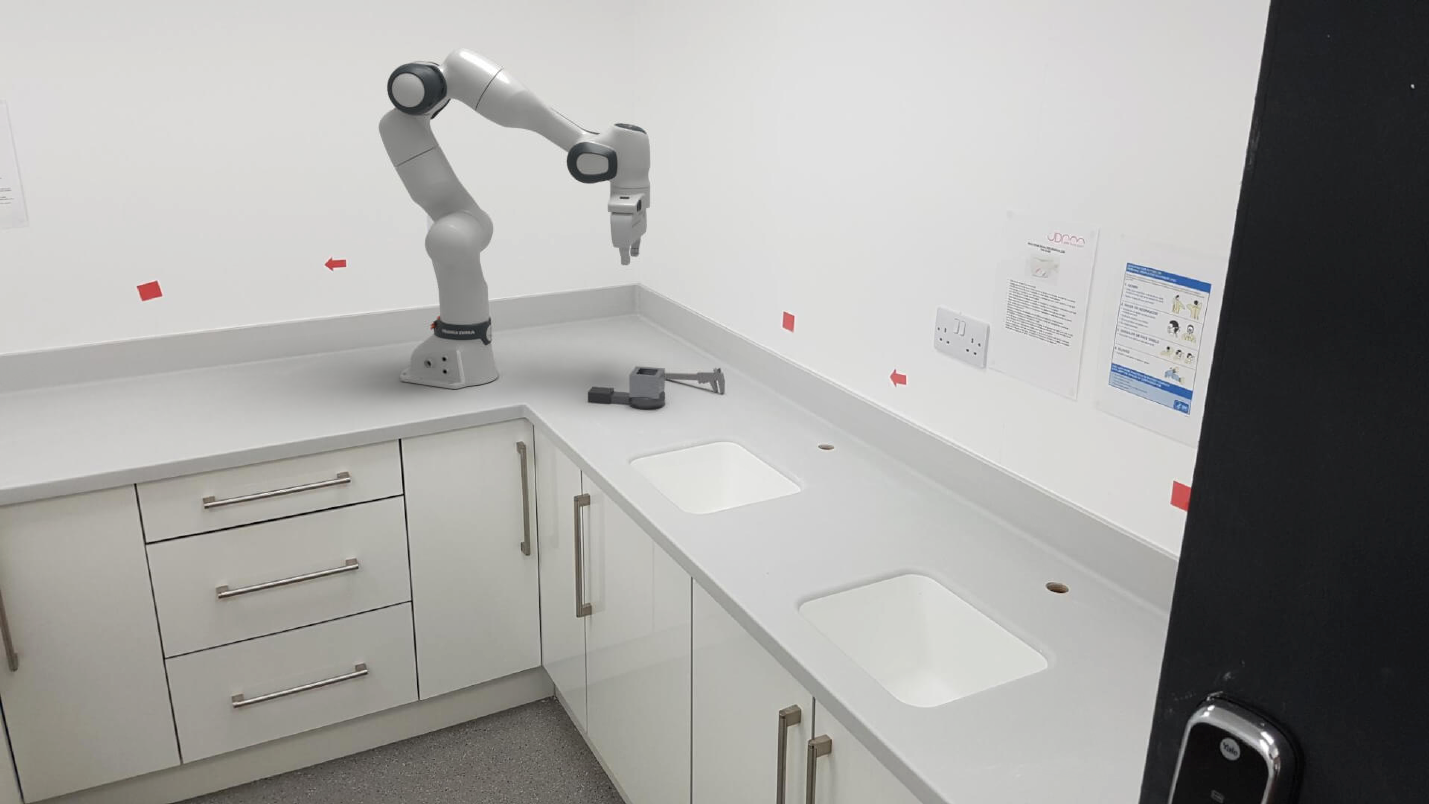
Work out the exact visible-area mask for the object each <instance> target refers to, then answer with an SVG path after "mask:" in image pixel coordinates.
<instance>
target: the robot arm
mask: <svg viewBox="0 0 1429 804" xmlns="http://www.w3.org/2000/svg"><path fill="white" fill-rule="evenodd" d="M386 85H387V86H386V92H387V95H388V99H389V101H390V102H391V104H392V106H394V108H393V109H391V110H389V111H388V112H386V113H385V114H384V115H383V116H382V117H381V119H380V121H379V123H378V133H379V134H380V138H381V140H382V144H383V147H384V148H385V151H386V155H388V158H389V160H390V163H392V166H393V167H394V169H395V171H396V173H397V175H398V177H399V178H400V180H401V182H402V184H403V186H404V188H405V189H406V191H407V193H408V194H409V197H410V199H411V200H412V201H413V202H414V203H415V204H417V205H418V206H419V207H420V208H422V209H423V210H424V212H425V213H426V214H427V215H428V217H429V218H430V219H431V220H432V221H433V223H432V225H431V226H430V228H429V229H428V231H427V233H426V236H425V238H424V248H425V251H426V254H427V256H428V257H429V258H430V260H431V263H432V267H433V271H434V274H435V278H436V282H437V290H438V298H439V299H438V300H439V301H438V302H439V316H437V318H436V319H435V320H434V321H432V323H431V324H430V330H433V334H431V335H430V336H429V337H428V338H426V339H425V340H424V341H423V342H422V343H420V344H419V345H418V346H417V347H415V348H414V349H413V351H412V353H411V355H410V359H409V366H407V367H406V368H404V369H403V370H402V371H401V372H400V378H399V379H400V381H401V382H406V383H410V384H411V383H412V384H419V385H423V386H424V385H425V386H431V387H438V388H444V389H452V390H457V389H461V388H465V387H470V386H477V385H478V386H479V385H483V384H487V383H490V382H493V381H495V380H497V379H498V378H499V376H500V375H499V374H500V373H499V371H498V368H497V365H496V361H495V358H494V353H493V347H492V341H493V326H492V318H491V317H490V310H489V309H490V307H489V306H490V305H489V287H488V286H489V285H488V283H487V282H486V280H485V277H484V273H483V269H482V265H481V253H482V252H483V251H484V250H485V249H486V248H487V247H488V246H489V244H490V243H491V240H492V238H493V234H494V223H493V221H492V218H491V217H490V215H489V214H488V213H487V212H486V211H485V210H483V209H482V208H481V207H480V206H479V205H478V203H477V202H476V200H475V199H474V197H473V196H472V195H471V194H470V193H469V192H468V190H467V189H466V188H465V187H464V185H463V184H462V182H461V181H460V180H459V178H458V177H457V175H456V173H455V171H454V169H453V167H452V165H451V164H450V162H449V161H448V159H447V156H446V154H445V153H444V151H443V149H442V147H441V146H440V144H439V142H438V140H437V138H436V136H435V135H434V131H433V130H432V127H431V120H433V119H435V118H436V117H437V116H438V114H440V113H441V112H442V110H444V109H445V107H447V106H448V104H449V103H450V101H451V100H452V99H453V100H457V101H459V102H461V103H463V104H464V105H466V106H467V107H469V108H470V109H472V110H473V111H475V113H477V114H479V115H480V116H482V117H483V118H485V119H487V120H489V121H490V122H492V123H495V124H496V125H498V126H500V127H504V128H511V129H523V130H527V131H532V132H535V133H537V134H538V135H540V136H542V137H543V138H545V139H546V140H548V141H550V142H551V143H553V144H554V145H556V146H557V147H559V148H560V149H562V150H563V151H565V152H566V153H567V155H566V166H567V170H568V172H569V174H570V176H571V177H573V178H574V179H575V180H576V181H578V182H579V183H583V184H586V185H587V184H588V185H591V184H593V185H594V184H597V183H602V182H606V181H607V182H609V184H610V185H609V186H610V187H609V188H610V192H609V200H608V202H607V211H608V213H610V217H609V218H610V219H609V220H610V236H611V243H612V246H613V247H614V248H616V249H618V252H619V255H620V264H621V265H622V266H629V265H630V263H631V257H635V258H637V257H638V256H639V255H640V246H641V242H642V241H641V240H642V236H643V235H645V234H646V232H647V225H648V224H647V223H648V220H647V218H648V217H647V209H649V208H650V207H651V183H650V178H649V172H650V168H651V147H650V140H649V135H648V134H647V132H646V130H645V129H644V128H642V127H640V126H637V125H635V124H629V123H620V122H619V123H617V122H616V123H614V124H613V125H612V126H610V127H609V128H608V129H606V130H603V132H595V131H590V130H587V129H584V128H583V127H580V126H579V125H577V124H575V122H574V121H571V120H570V119H568V118H567V117H565V116H564V115H562V114H561V113H559V112H558V111H556V110H555V109H553V108H552V107H550V106H549V105H548V104H547V103H545V102H544V101H543V100H541V98H539V97H538V96H537V95H536V94H535V93H534V92H533V91H531V90H530V88H528V87H527V86H526V85H525V84H524V83H523V82H522V81H520V79H518V78H517V77H515V76H514V75H513V74H511V73H510V72H509V71H507V70H506V69H505V68H503V67H502V66H500V65H499V64H498V63H496V62H494V61H492V60H491V59H490V58H488V57H486V56H484V55H482V54H481V53H478V52H476V51H473V50H471V49H469V48H466V47H460V48H457V49H454V50H453V51H452V52H450V53H449V54H448V55H447V56H446V58H445V59H444V61H443V62H442V63H441V64H439V63H436V62H433V61H425V60H424V61H423V60H417V61H412V62H409V63H405V64H404V63H403V64H400V66H399V65H398V67H396V68H395V69H394V70H393V71H392V72H391V74H390V76H389V77H388V80H387V84H386Z"/></svg>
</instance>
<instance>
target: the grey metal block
mask: <svg viewBox="0 0 1429 804" xmlns="http://www.w3.org/2000/svg"><path fill="white" fill-rule="evenodd" d="M665 372H666V369H665V368H664V367H654V366H653V367H651V366H650V367H649V366H638V365H636V366H635V367H634V368H633V370H632V371H631V373H630V374H629V376H628V377H629V381H628V382H629V383H628V384H629V385H628V386H629V387H628V389H629V397H638V398H651V399H659V398H660V396H661V395H662V393H663V391H664V392H665V390H666V389H665V387H666V385H665V384H666V383H665V382H666V381H665V380H666V379H665Z"/></svg>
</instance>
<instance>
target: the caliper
mask: <svg viewBox="0 0 1429 804" xmlns="http://www.w3.org/2000/svg"><path fill="white" fill-rule="evenodd" d="M721 369H722V368H721V367H718V368H717V367H714V368H713V371H698V372H695V373H694V372H692V373H691V372H666V371H665V380H673V381H675V380H677V381H679V380H680V381H681V380H682V381H697V382H698V385H701V384H703V385H704V384H707V383H709V384H710V387H711V388H712V392H713V393H714V394H716V393H719V394H720V395H722V394H724V393H725V390H726V380H725V374H724V372H722V370H721Z"/></svg>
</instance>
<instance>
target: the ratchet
mask: <svg viewBox="0 0 1429 804" xmlns="http://www.w3.org/2000/svg"><path fill="white" fill-rule="evenodd" d="M587 403H593V404H602V405H603V404H604V405H611V404H612V405H613V404H617V405H627V406H628V405H629V407H630V408H633V409H636V410H642V411H644V410H645V411H647V410H648V411H653V410H658V409H661V408H664V406H665V405H666V392H665V390H664V391H663V393H662V395H661V396H660V398H659V399H651V398H638V397H629V392H624V391H615V387H605V386H603V387H602V386H591V388H590V389H589V390H588V392H587Z"/></svg>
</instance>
